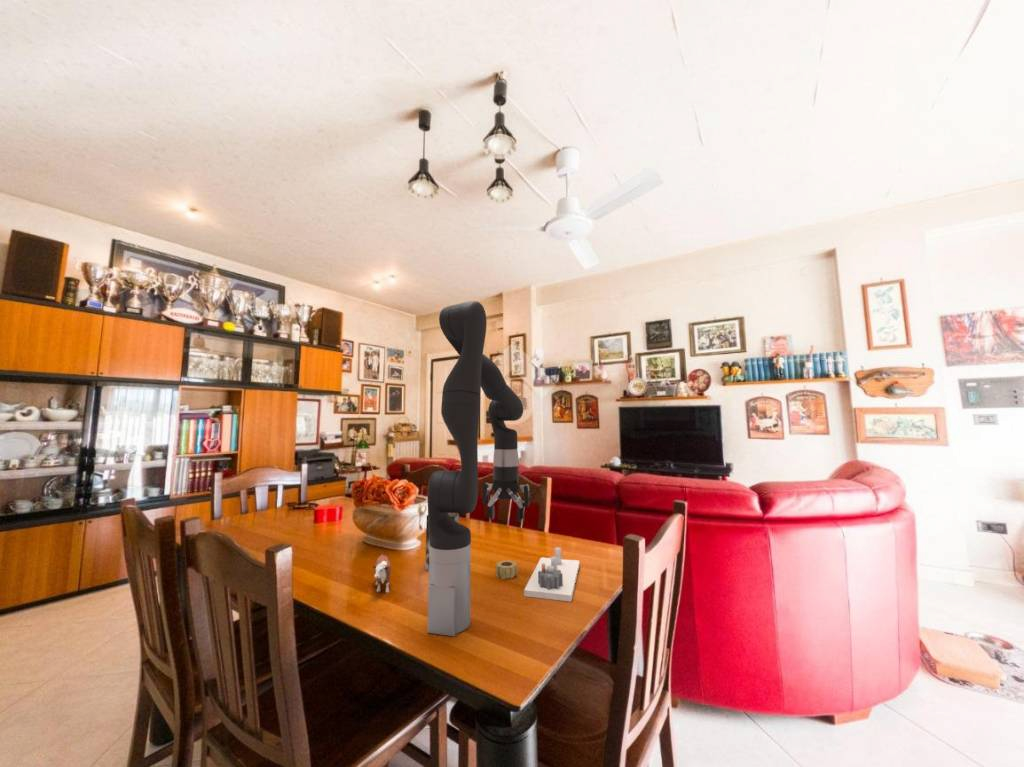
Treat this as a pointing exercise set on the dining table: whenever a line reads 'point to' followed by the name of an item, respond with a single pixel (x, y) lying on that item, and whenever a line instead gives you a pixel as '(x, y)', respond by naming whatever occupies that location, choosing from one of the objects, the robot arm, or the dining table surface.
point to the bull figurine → (382, 572)
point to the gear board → (554, 593)
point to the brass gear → (506, 569)
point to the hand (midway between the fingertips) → (506, 519)
